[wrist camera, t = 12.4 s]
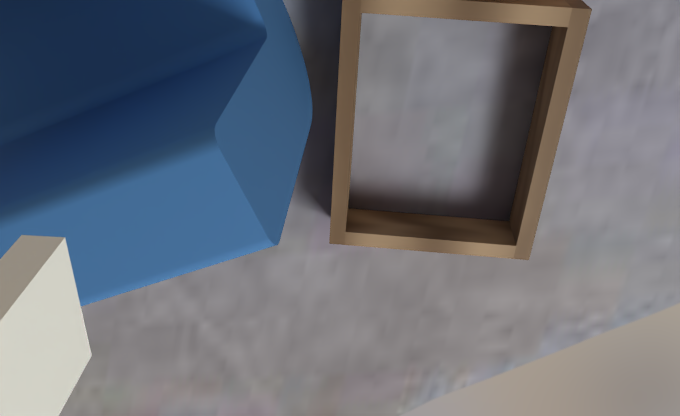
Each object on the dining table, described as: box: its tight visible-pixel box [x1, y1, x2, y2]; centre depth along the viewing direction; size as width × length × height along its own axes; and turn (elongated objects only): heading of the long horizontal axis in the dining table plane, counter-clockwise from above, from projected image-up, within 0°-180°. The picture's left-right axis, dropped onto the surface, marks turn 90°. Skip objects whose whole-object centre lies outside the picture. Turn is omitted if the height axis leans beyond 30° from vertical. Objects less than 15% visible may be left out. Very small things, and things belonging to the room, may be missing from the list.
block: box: [0, 0, 312, 306], centre depth 30 cm, size 18×18×18 cm
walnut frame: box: [329, 0, 592, 260], centre depth 39 cm, size 13×16×3 cm
